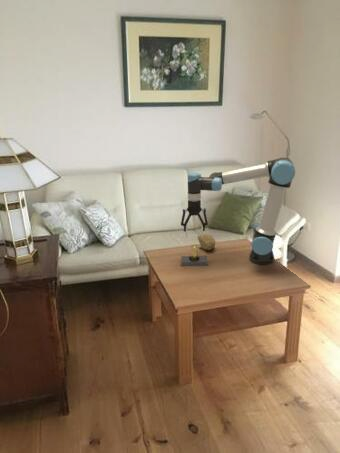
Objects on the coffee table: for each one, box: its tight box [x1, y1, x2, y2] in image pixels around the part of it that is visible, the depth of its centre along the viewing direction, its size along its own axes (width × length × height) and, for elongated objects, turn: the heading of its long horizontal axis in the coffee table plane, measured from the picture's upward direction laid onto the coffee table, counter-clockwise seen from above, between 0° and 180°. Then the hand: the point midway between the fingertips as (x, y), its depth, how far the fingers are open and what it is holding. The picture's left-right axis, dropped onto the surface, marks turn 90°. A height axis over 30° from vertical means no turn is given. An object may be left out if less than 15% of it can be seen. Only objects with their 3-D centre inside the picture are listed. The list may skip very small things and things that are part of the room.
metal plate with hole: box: [180, 255, 209, 267], centre depth 223 cm, size 16×9×2 cm, turn 90°
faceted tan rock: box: [196, 233, 216, 251], centre depth 242 cm, size 15×11×12 cm
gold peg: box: [190, 244, 199, 261], centre depth 222 cm, size 4×4×11 cm
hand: (194, 236), depth 218 cm, fingers open, 9 cm apart
